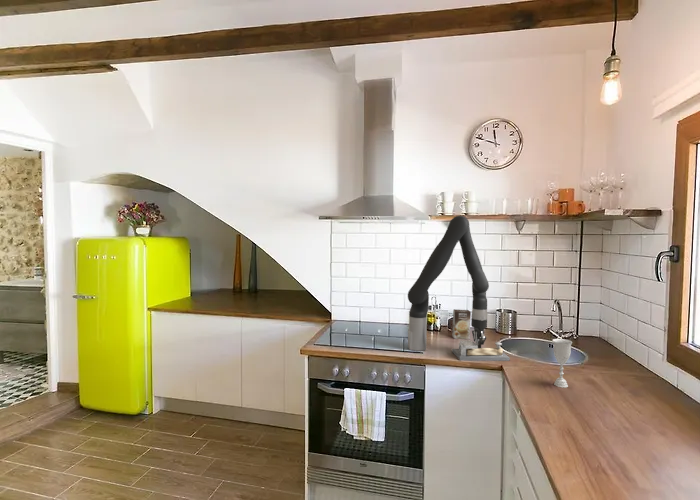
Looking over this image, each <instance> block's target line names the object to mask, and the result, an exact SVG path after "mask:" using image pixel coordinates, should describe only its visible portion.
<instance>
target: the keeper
mask: <svg viewBox="0 0 700 500" xmlns="http://www.w3.org/2000/svg"><path fill="white" fill-rule="evenodd" d="M458 349H459V354H460V355H461V356H466V349H478V345H476V344H475V342H474V340H470V339H460V340H459V343H458Z"/></svg>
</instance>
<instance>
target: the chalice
mask: <svg viewBox="0 0 700 500" xmlns="http://www.w3.org/2000/svg"><path fill="white" fill-rule="evenodd" d="M552 342H553V356H554V358H555V360H556V363H558V364H559V377H558V378H556V379H555V381H554V384H553V385H554V386H556V387H558V388H568V387H569V385H568V383H567V380H566V379H565V378H564V377H563V376H564V374H565V373H564V372H563V371H564V365H565V364H567V362H568V360H569V359H570V357H571V352H572V351H571V349H572V348H571V347H572V344H573V341H572V340H569V339H563V338H553V339H552Z"/></svg>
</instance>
